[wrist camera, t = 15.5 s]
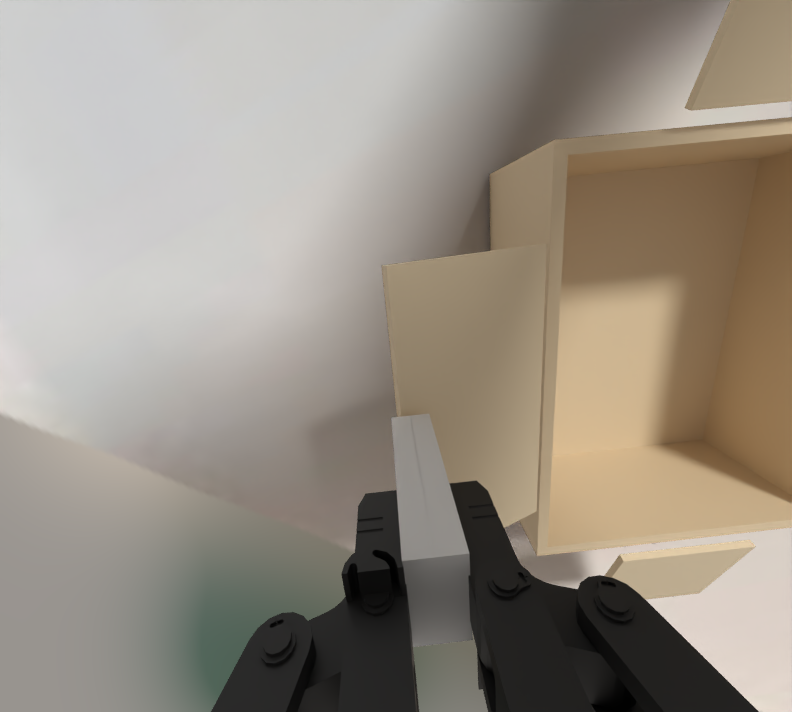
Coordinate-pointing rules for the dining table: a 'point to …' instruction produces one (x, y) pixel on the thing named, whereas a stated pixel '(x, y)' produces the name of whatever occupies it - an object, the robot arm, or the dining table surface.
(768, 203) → the carton
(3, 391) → the dining table surface
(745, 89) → the flap
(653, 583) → the flap
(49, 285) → the dining table surface
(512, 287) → the flap
